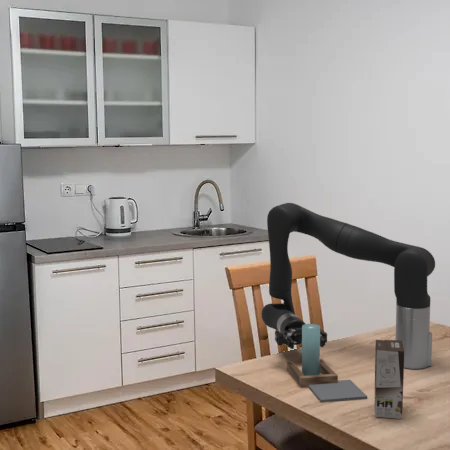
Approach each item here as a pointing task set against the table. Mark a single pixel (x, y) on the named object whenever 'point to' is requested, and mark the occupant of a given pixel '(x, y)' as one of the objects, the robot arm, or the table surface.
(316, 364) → the canister
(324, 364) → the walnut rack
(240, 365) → the table surface
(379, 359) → the coffee box
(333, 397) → the felt pad
